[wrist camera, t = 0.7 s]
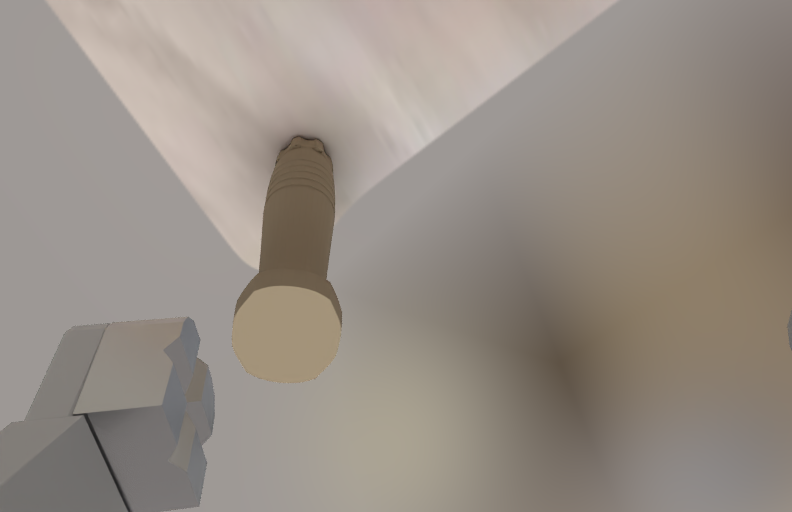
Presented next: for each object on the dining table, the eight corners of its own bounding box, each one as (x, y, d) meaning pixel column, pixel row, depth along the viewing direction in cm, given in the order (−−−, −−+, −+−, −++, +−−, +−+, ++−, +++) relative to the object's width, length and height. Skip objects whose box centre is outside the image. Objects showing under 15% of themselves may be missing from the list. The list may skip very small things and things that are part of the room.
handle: (261, 193, 46) (229, 377, 34) (270, 104, 42) (236, 279, 30) (337, 203, 47) (329, 387, 35) (352, 117, 42) (349, 292, 31)
